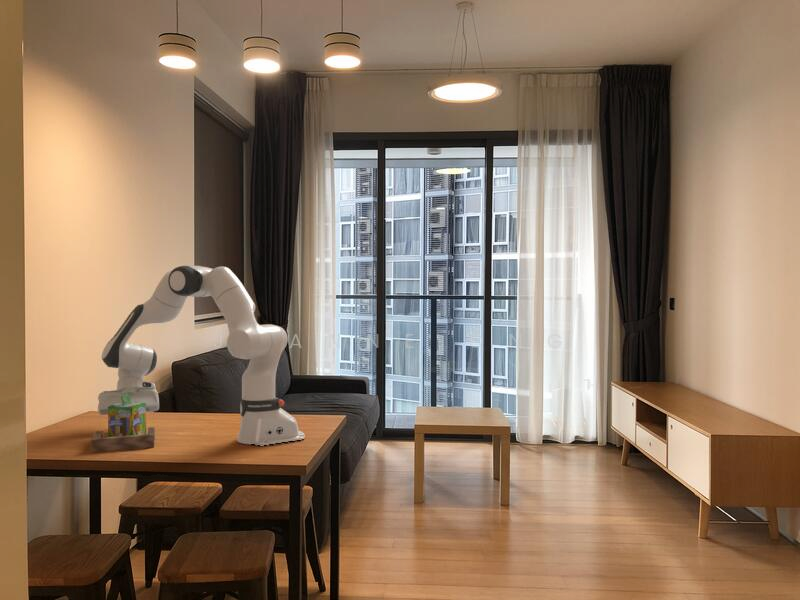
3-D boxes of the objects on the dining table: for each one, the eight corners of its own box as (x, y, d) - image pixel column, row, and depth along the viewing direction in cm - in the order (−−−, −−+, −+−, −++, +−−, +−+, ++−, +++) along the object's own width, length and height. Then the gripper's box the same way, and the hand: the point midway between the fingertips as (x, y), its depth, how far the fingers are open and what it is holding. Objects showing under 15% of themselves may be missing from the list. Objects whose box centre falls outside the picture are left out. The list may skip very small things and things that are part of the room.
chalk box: (132, 441, 200) (132, 397, 199) (107, 440, 201) (106, 396, 201) (147, 434, 209) (147, 392, 209) (123, 433, 210) (123, 392, 210)
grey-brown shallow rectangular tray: (154, 438, 203) (154, 427, 203) (154, 447, 192) (153, 434, 192) (96, 443, 197) (95, 431, 196) (91, 452, 185) (91, 439, 185)
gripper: (98, 386, 214) (95, 418, 205) (159, 383, 221) (158, 414, 212) (99, 396, 218) (96, 428, 209) (159, 393, 225) (159, 424, 216)
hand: (128, 421), depth 211 cm, fingers closed
